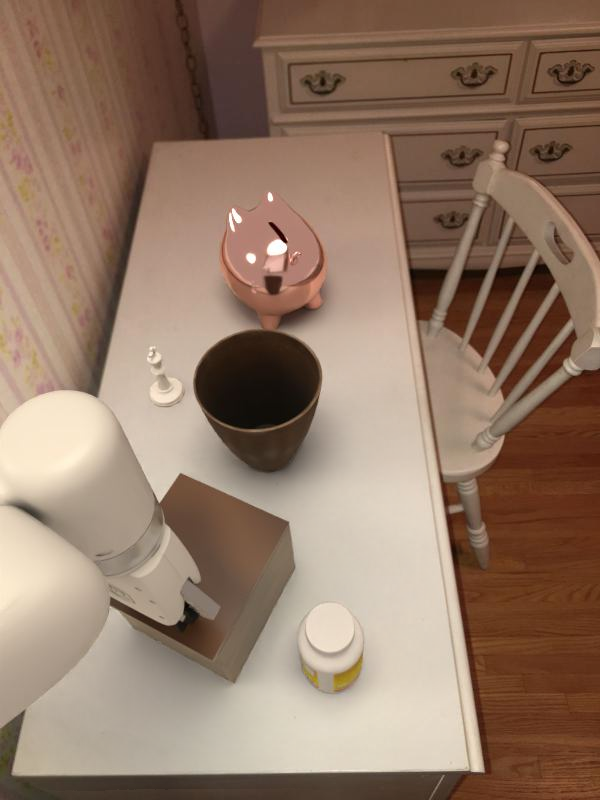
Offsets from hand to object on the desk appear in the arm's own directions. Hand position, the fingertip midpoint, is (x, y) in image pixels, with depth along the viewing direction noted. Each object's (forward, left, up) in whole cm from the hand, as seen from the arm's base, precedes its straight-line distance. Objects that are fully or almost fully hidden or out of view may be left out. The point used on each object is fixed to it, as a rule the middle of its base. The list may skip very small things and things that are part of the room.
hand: (163, 602), depth 62 cm
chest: (+6, 0, -14) cm, 15 cm away
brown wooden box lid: (+5, 0, -2) cm, 6 cm away
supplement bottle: (+5, -15, -14) cm, 21 cm away
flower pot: (+26, +4, -14) cm, 30 cm away
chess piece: (+28, +22, -14) cm, 38 cm away
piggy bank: (+52, +17, -14) cm, 57 cm away
